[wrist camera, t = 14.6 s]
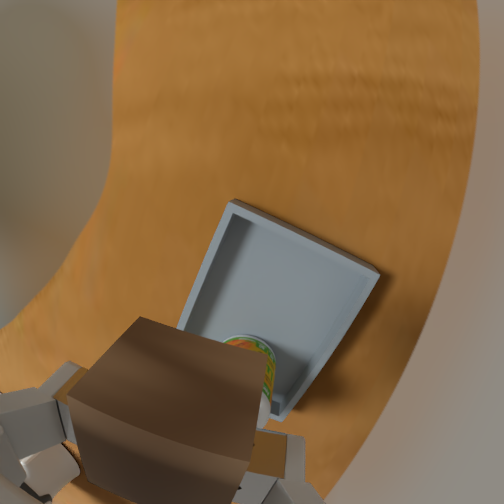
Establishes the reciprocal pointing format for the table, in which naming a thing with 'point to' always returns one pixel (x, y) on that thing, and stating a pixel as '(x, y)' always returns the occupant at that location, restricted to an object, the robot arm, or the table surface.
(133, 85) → the table surface
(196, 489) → the walnut block
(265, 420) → the supplement bottle
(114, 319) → the table surface
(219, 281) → the tray
